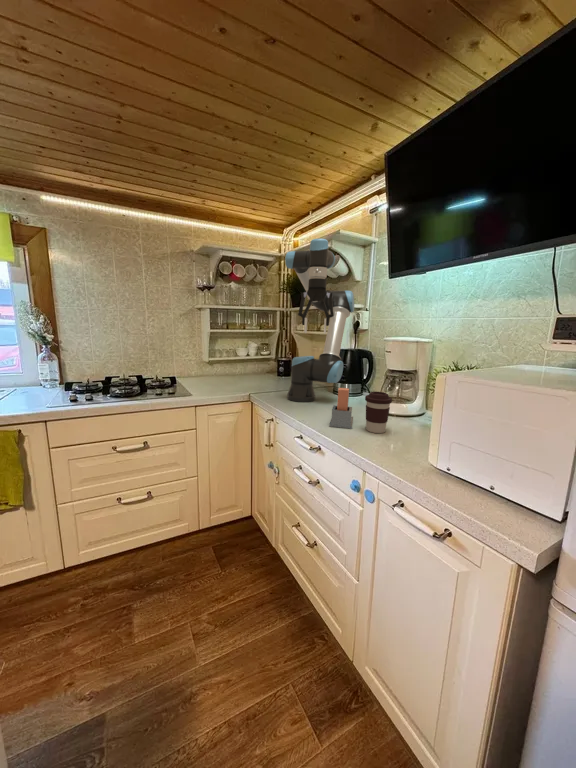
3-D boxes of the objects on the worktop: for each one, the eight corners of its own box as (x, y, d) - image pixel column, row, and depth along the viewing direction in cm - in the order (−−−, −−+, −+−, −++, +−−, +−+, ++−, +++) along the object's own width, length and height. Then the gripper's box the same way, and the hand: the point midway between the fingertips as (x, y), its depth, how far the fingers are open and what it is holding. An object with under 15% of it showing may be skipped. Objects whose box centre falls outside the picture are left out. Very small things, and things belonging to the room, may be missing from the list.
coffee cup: (393, 430, 125) (396, 393, 123) (381, 436, 118) (385, 397, 115) (370, 424, 132) (373, 389, 129) (357, 430, 125) (360, 392, 122)
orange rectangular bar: (336, 423, 129) (338, 389, 126) (336, 420, 133) (339, 387, 130) (346, 424, 128) (348, 390, 125) (346, 421, 132) (349, 388, 129)
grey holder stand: (332, 415, 143) (334, 387, 140) (353, 417, 141) (355, 389, 139) (329, 426, 128) (331, 395, 125) (352, 429, 126) (354, 396, 123)
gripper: (292, 277, 133) (290, 332, 138) (342, 277, 130) (338, 334, 134) (295, 279, 140) (293, 331, 145) (342, 279, 137) (339, 333, 141)
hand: (315, 333), depth 140 cm, fingers open, 8 cm apart
